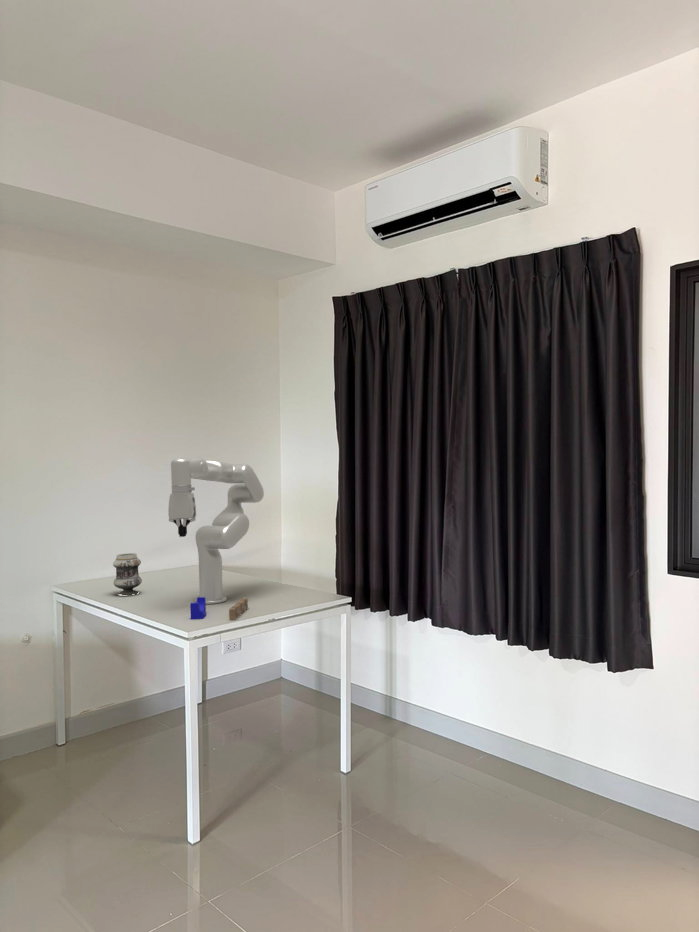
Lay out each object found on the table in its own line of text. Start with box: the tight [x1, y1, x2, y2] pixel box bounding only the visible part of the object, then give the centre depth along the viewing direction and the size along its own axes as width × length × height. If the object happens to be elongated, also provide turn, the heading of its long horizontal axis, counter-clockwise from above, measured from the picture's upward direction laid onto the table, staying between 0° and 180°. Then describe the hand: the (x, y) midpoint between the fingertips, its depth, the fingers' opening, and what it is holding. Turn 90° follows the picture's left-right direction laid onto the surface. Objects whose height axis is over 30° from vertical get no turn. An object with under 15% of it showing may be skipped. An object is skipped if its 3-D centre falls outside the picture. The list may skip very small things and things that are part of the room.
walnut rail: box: [228, 597, 249, 621], centre depth 266 cm, size 20×2×4 cm, turn 174°
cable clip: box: [189, 596, 207, 620], centre depth 265 cm, size 12×4×6 cm, turn 179°
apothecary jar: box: [112, 552, 143, 595], centre depth 311 cm, size 12×12×18 cm
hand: (182, 536), depth 276 cm, fingers closed
